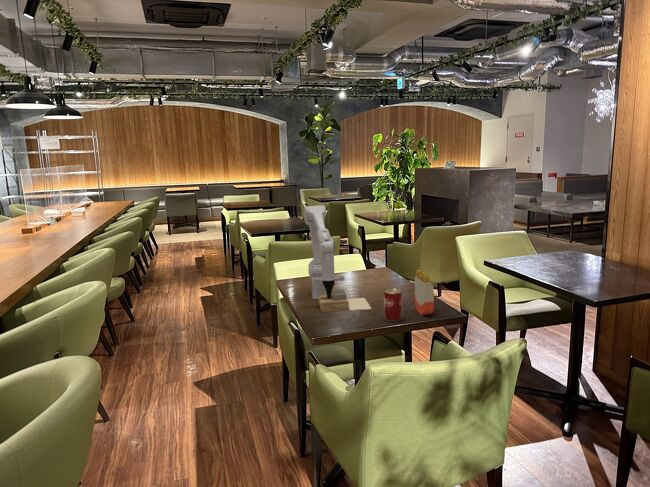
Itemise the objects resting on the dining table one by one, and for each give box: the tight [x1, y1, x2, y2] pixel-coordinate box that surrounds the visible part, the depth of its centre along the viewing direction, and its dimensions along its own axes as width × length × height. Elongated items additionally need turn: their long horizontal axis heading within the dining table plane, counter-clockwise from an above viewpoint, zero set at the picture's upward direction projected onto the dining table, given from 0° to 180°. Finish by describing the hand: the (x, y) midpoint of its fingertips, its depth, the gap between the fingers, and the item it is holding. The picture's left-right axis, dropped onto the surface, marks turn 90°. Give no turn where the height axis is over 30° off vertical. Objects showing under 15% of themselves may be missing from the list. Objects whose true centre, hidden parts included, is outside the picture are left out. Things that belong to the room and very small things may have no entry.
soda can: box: [383, 288, 403, 323], centre depth 200 cm, size 7×7×12 cm
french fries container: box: [414, 269, 435, 316], centre depth 206 cm, size 5×11×18 cm, turn 11°
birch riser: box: [317, 294, 350, 313], centre depth 220 cm, size 14×12×4 cm
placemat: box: [347, 297, 372, 312], centre depth 222 cm, size 16×10×1 cm, turn 7°
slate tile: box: [331, 288, 347, 301], centre depth 220 cm, size 9×6×2 cm, turn 7°
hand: (328, 296), depth 219 cm, fingers closed
